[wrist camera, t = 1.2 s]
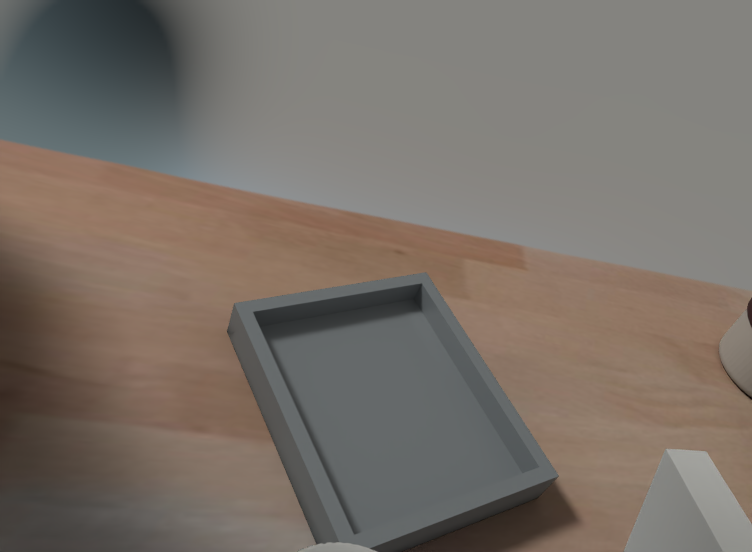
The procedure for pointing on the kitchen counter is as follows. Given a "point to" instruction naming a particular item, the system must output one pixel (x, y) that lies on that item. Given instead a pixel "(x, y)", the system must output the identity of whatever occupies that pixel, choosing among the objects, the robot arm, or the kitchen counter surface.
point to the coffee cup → (739, 351)
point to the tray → (384, 413)
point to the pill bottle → (336, 548)
